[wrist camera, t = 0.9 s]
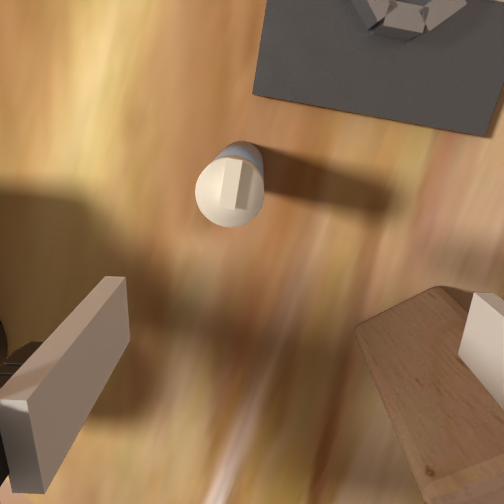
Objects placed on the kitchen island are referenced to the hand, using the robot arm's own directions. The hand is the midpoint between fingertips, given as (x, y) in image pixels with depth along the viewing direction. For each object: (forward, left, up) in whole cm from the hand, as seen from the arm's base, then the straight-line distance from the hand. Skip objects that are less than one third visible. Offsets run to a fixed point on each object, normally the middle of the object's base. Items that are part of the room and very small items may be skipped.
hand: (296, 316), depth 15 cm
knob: (-4, +2, -23) cm, 24 cm away
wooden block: (+17, -13, -23) cm, 32 cm away
